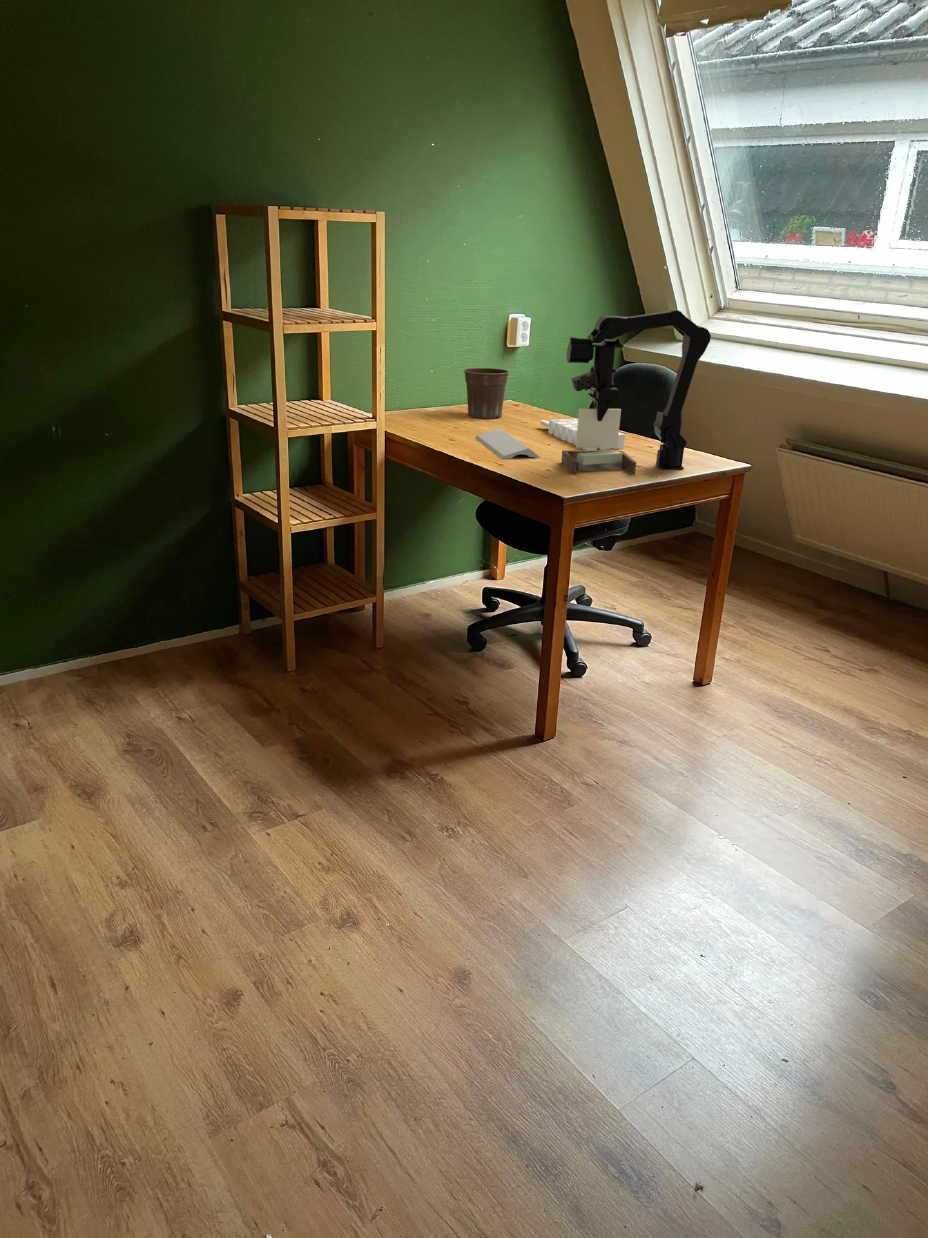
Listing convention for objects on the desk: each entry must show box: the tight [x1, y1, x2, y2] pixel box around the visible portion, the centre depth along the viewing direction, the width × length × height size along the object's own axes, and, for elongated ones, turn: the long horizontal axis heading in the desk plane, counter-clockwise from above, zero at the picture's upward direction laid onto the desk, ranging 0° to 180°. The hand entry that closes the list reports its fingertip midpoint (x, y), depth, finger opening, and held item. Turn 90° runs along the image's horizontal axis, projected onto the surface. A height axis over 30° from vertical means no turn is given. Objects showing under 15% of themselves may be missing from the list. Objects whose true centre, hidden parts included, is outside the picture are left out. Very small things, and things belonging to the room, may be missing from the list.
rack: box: [561, 450, 637, 475], centre depth 258 cm, size 18×14×4 cm
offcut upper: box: [577, 450, 623, 465], centre depth 256 cm, size 13×4×2 cm, turn 115°
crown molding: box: [475, 428, 541, 460], centre depth 279 cm, size 29×12×4 cm, turn 16°
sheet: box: [575, 407, 622, 449], centre depth 257 cm, size 12×1×11 cm, turn 96°
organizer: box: [540, 418, 626, 451], centre depth 296 cm, size 13×5×35 cm
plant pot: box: [463, 367, 510, 419], centre depth 324 cm, size 16×16×16 cm
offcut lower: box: [576, 461, 623, 472], centre depth 258 cm, size 13×4×2 cm, turn 100°
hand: (598, 420), depth 256 cm, fingers closed on sheet, 1 cm apart
